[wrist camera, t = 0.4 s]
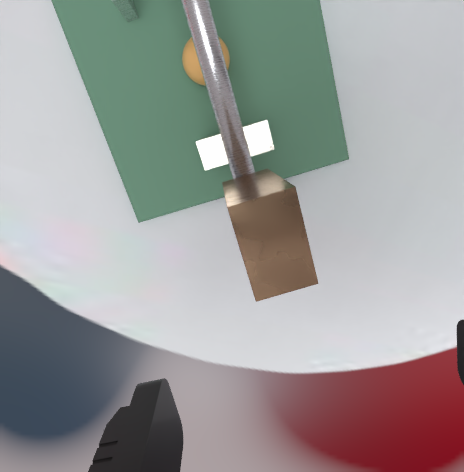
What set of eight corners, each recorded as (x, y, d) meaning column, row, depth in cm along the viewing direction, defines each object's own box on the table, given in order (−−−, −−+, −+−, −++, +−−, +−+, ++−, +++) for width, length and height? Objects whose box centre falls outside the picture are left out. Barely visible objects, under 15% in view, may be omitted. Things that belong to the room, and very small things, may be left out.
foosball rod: (168, -193, 25) (71, -928, 8) (272, 203, 34) (336, 278, 17) (104, -171, 25) (-135, -843, 8) (224, 218, 34) (238, 306, 17)
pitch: (290, -131, 28) (293, -140, 27) (345, 158, 35) (349, 159, 34) (36, -47, 28) (30, -53, 28) (140, 220, 36) (138, 222, 35)
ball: (221, 33, 30) (222, 18, 26) (233, 80, 31) (237, 73, 27) (178, 47, 30) (173, 34, 26) (192, 93, 31) (189, 88, 28)
